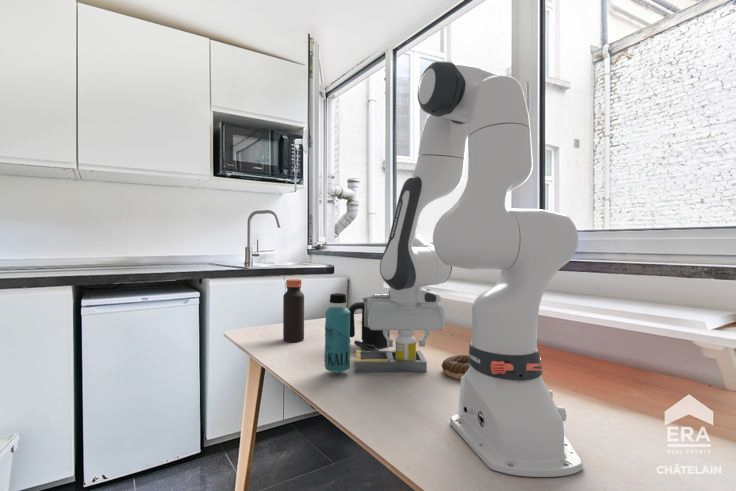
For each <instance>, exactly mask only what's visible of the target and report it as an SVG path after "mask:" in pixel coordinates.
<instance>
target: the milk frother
mask: <svg viewBox="0 0 736 491" xmlns="http://www.w3.org/2000/svg"><path fill="white" fill-rule="evenodd" d="M369 297H370V296H366V297H363V298H362V300H363V301H362V302H354V303H352V304H351V305H350V306H349V308H347V309H348V310H349V311H350V338H354V337H355V334H356V333H355V331H356V330H355V329H356V328H355V313H356V311H357V310H361V340H362V341H361V340H354V342H353V343H354V345H355V346H357V347H358V348H360V349H361V350H363V351H380V349H382V348H383V349H384V348H388V347H387V340H386V338H385V336H384V335H383V330H371V329H370V328H369V327H368V317H369V310H368V309H367V300H368V298H369ZM372 298H373V297H372ZM389 300H390V298H389ZM390 331H391V330H389V334H387V335H388V337H389V339H391V338H390V337H391V335H390Z"/></svg>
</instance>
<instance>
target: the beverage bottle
mask: <svg viewBox="0 0 736 491" xmlns="http://www.w3.org/2000/svg"><path fill="white" fill-rule="evenodd" d="M329 297H330V298H329V303H330V304H346V303H347V295H346V294H345V293H338V292H337V293H331V294H330V295H329ZM348 309H349V308H348V307H346V306H340V305H337V306H336V305H335V306H334V305H333V306H329V308H327V309H326V310H325V312H324V313H325V323H324V331H325V332H324V350H323V351H324V352H323V353H324V355H323V356H324V364H323V365H324V368H325V370H326V371H328V372H330V373H331V372H333V373H339V372H340V373H342V372H346V371H348V370H349V369H350V366H351V337H350V311H349V310H348Z"/></svg>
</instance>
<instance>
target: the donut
mask: <svg viewBox="0 0 736 491" xmlns="http://www.w3.org/2000/svg"><path fill="white" fill-rule="evenodd" d="M469 367H470V364H469V355H468V354H458V355H452V356H449V357H446V358H445V359H444V360H443V361H442V363H441V368H442V371H443V373H444V374H445V375H447V376H448V377H450V378H452V379H455V380H460V381H461V377H462V376H463V375H464V374H465V373H466V372H467V371H468V369H469Z"/></svg>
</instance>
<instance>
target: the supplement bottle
mask: <svg viewBox="0 0 736 491" xmlns="http://www.w3.org/2000/svg"><path fill="white" fill-rule="evenodd" d="M397 334H398V336H396V337H395V351H396V360H416V351H417V342H416V341H417V340H416V337H414V336H413V335H414V330H397Z"/></svg>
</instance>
